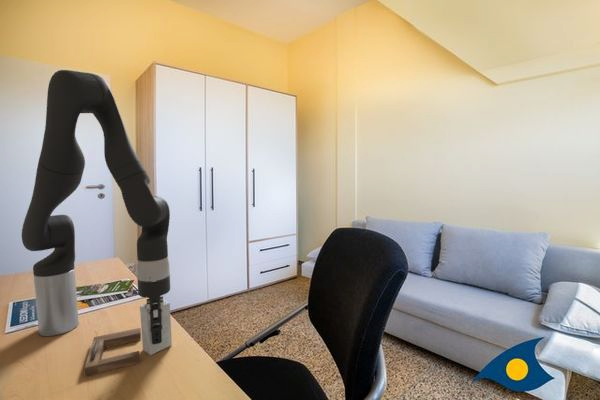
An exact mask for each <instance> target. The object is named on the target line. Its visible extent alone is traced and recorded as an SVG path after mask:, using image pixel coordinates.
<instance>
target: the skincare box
mask: <svg viewBox="0 0 600 400" xmlns="http://www.w3.org/2000/svg"><path fill="white" fill-rule="evenodd" d="M163 301H164V306H163V319H162V330H161V335H162V342H161V343H159V344H154V345H153V344H152V332H151V331H150V328H151V322H150V321H149V320H148V316H149V315H150V314H149V312H150V310H151V309H147V303H145V304H142V305H139V310H140V311H139V312H140V325H141V327H140V328H141V344H142V350H143V351H144V352H145V353H146V354H147V355H149V356H152V355H154V354H156V353H158V352H160V351H162V350H164V349H167V348H168V347H171V346H172V345H173V341H172V323H171V322H172V321H171V304H170V302H169V301H167V300H165V299H164V298H163ZM160 308H161V306H160ZM153 316H154V315H153ZM154 325H159V323H156V324H153V326H154Z"/></svg>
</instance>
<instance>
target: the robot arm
mask: <svg viewBox="0 0 600 400" xmlns="http://www.w3.org/2000/svg"><path fill="white" fill-rule="evenodd" d="M48 82H49V83H48V88H47V97H46V114H45V125H44V134H43V138H42V139H43V140H42V145H41V151H40V154H39V158H38V163H37V168H36V173H35V178H34V179H35V180H34V186H33V192H32V196H31V200H30V203H29V206H28V208H27V211H26V214H25V217H24V220H23V224H22V229H21V242H22V244H23V246H24V248H25V249H26V250H28V251H31V252H42V251H48V250H52V249H54V250H53V251H52V252H51V253H50V254H49V255H47V256H46V257H44V258H42V259H40V260H38V261H37V262H35V263H34V264H33V267H32V274H33V282H34V292H35V293H34V294H35V301H36V302H35V304H36V317H37V325H38V326H37V328H38V334H39V335H40V336H42V337H53V336H58V335H61V334H65V333H68V332H70V331H72V330H73V329H75V328H77V327H78V326H79V323H80V321H79V311H78V310H79V309H78V308H79V307H78V296H77V295H78V293H77V283H76V282H77V281H76V269H75V261H76V245H75V244H76V235H75V233H76V231H75V225H74V222H73V220H72V218H71V217H70V216H68V215H67V214H56V215H52V214H53V212H55V209H56V208H57V207H59V206H60V205H61V204H62V203H63V202H65V200H66V199H68V198H69V197H70V196H71V195H72V194H73V193H74V192H75V191H76V190H77V189H78V187H79V186H80V185H81V182H82V178H83V173H84V170H85V167H86V160H85V156H84V152H82V149H81V146H80V145H79V143H78V141H77V137H76V128H77V123H78V120H79V117H80V115H81V114H93V116H94V117H95V119H96V120H97V122H98V123H99V125H100V127H101V130H102V133H103V142H104V143H103V144H104V145H103V148H104V149H103V151H104V152H103V153H104V160H105V163H106V166H107V168H108V170H109V173H110V174H111V176H112V178H113V179H114V182H116V184H117V187H118V188H119V189H120V192H121V197H122V199H123V203H124V205H125V208H126V209H125V210H126V211H127V213H128V216H129V217H130V218H131V220H132V221H133V222H134V223H135V224H136V225H138V226H139V227H141V234H140V235H139V236H138V238H137V241H136V257H137V259H136V260H137V264H136V278H137V294H138V296H140V297H142V298H144V299H145V298H146V304H147V309H151V310H150V312H149V314H150V315H149V316H148V320H149V321H150V322H151V328H150V331H151V332H152V344H153V345H154V344H159V343H161V342H162V335H161V330H162V319H163V306H164V301H163V299H164V295H166V294H168V293H169V292H170V290H171V272H170V271H171V269H170V261H169V260H170V259H169V252H168V251H169V250H168V235H169V234H168V233H169V228H170V219H171V212H170V205H169V204H168V202H167V201H166V200H165V198H163V197H162V196H157V195H153V194H152V192H151V190H150V187H149V184H150V181H151V180H150V177H149V175H148V172H147V171H146V169H145V167H144V166H143V164H142V162H141V160H140V159H139V156H138V155H137V153H136V151H135V149H134V147H133V145H132V143H131V141H130V138H129V135H128V131H127V130H126V127H125V124H124V121H123V119H122V115H121V113H120V111H119V108H118V105H117V102H116V99H115V97H114V95H113V92H112V90H111V88H110V85H109V84H108V83H107V81H106V80H105V79H104V78H103V77H101V76H100V75H98V74H94V73H92V72H91V73H90V72H84V71H83V72H82V71H76V70H70V69H60V70H57V71H55V72H54V73H53V74H52V76H51V78H50V80H49V81H48ZM160 306H161V308H160ZM153 315H154V316H153ZM156 323H159V325H154V326H153V324H156Z"/></svg>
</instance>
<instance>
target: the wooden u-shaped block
mask: <svg viewBox="0 0 600 400" xmlns="http://www.w3.org/2000/svg"><path fill="white" fill-rule="evenodd" d="M137 341H142V329H141V327H139V328H134V329H133V328H132V329H127V330H123V331H118V332H113V333H112V332H111V333H107V334H103V335H97V336H94V337H93V339H92V343H91V346H90V349H89V352H88V356H87V357H86V362H85V365H84V369H83V370H84V377H88V376H92V375H96V374H99V373H104V372H107V371H112V370H116V369H120V368H125V367H129V366H132V365H136V364H140V362H141V361H140V360H141V355H140V350H137V351H132V352H129V353H128V352H127V353H123V354H120V355H115V356H110V357H107V358H103V355H104V349H105V348H109V347H110V348H111V347H114V346H118V345H123V344H129V343H132V342H137Z"/></svg>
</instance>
